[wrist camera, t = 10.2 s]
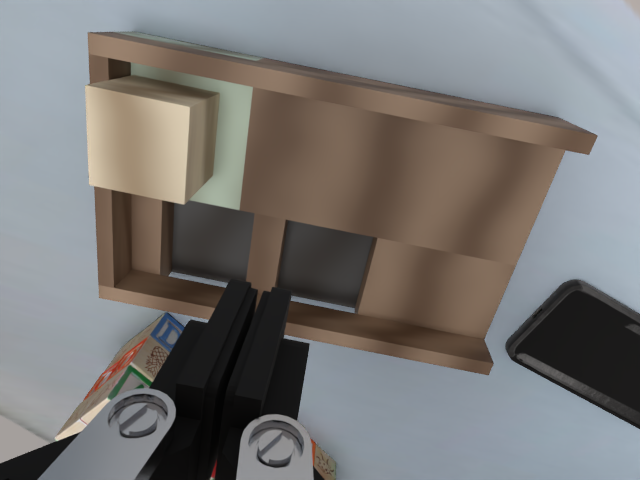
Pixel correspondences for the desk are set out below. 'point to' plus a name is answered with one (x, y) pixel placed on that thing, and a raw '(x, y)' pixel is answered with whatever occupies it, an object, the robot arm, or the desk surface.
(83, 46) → the desk surface
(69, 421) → the stack of blocks
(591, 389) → the phone
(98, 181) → the maple block
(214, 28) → the desk surface
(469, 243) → the wooden shelf
